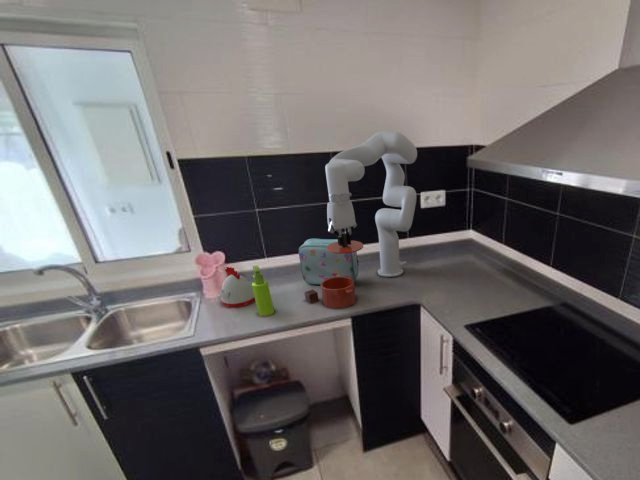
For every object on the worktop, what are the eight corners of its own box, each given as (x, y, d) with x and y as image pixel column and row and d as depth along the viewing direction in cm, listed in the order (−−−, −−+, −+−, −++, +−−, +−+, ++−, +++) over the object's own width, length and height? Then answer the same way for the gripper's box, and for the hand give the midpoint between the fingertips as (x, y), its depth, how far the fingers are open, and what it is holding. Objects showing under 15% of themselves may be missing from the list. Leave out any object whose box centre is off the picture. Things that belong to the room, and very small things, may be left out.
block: (314, 297, 166) (312, 289, 164) (318, 300, 163) (317, 292, 161) (305, 300, 163) (304, 292, 161) (310, 303, 161) (309, 295, 159)
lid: (350, 240, 161) (348, 225, 158) (370, 248, 152) (369, 232, 149) (319, 248, 153) (317, 233, 149) (339, 258, 143) (337, 241, 140)
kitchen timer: (243, 290, 173) (235, 259, 166) (263, 297, 167) (256, 265, 160) (215, 302, 162) (205, 270, 155) (236, 310, 156) (227, 276, 149)
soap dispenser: (260, 318, 150) (248, 271, 140) (258, 311, 155) (246, 265, 146) (275, 315, 152) (265, 268, 143) (272, 308, 158) (262, 262, 148)
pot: (340, 289, 173) (338, 272, 169) (365, 303, 161) (364, 284, 156) (314, 299, 164) (311, 281, 160) (338, 314, 152) (336, 295, 148)
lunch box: (363, 279, 183) (359, 235, 173) (358, 287, 174) (353, 242, 164) (309, 277, 186) (302, 234, 175) (302, 286, 177) (294, 241, 166)
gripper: (351, 193, 150) (356, 238, 159) (315, 200, 140) (322, 247, 149) (362, 195, 145) (366, 242, 154) (325, 203, 135) (332, 252, 144)
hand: (344, 244), depth 152 cm, fingers closed on lid, 2 cm apart
